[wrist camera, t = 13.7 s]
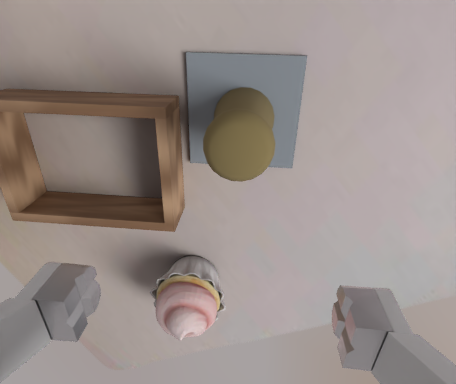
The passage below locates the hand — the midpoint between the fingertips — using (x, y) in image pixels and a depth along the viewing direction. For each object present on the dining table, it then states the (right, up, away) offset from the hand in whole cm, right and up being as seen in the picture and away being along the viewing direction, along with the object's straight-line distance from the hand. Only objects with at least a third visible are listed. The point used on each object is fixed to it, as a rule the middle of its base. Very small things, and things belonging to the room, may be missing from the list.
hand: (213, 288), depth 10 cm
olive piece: (+2, +11, +20) cm, 23 cm away
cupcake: (-4, -8, +32) cm, 33 cm away
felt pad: (+2, +11, +21) cm, 23 cm away
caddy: (-14, +8, +24) cm, 29 cm away
